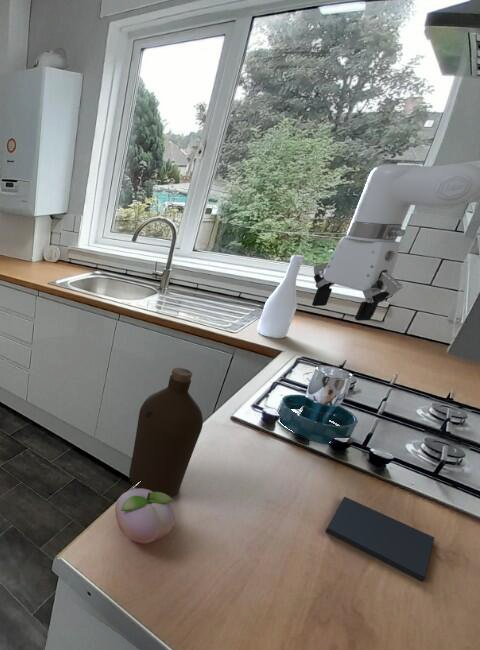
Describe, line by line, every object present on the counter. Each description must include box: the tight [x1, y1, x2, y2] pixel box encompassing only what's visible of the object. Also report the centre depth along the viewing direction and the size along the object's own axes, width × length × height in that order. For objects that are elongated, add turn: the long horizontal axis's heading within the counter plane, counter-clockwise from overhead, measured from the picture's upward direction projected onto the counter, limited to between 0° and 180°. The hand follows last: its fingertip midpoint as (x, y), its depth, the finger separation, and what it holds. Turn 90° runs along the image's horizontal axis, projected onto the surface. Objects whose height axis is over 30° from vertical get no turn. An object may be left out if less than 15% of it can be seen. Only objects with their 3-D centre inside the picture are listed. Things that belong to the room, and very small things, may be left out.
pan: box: [276, 394, 359, 445], centre depth 99 cm, size 14×14×5 cm
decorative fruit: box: [114, 488, 176, 544], centre depth 68 cm, size 9×8×10 cm
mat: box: [324, 496, 435, 582], centre depth 70 cm, size 12×12×1 cm
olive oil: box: [128, 367, 204, 498], centre depth 77 cm, size 11×11×25 cm
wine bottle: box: [256, 254, 305, 339], centre depth 150 cm, size 10×10×30 cm
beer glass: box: [300, 365, 354, 424], centre depth 97 cm, size 7×7×15 cm
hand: (339, 312), depth 89 cm, fingers open, 9 cm apart
